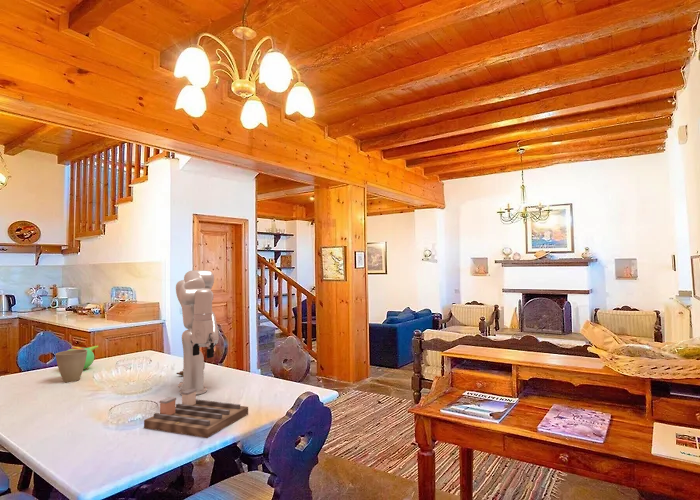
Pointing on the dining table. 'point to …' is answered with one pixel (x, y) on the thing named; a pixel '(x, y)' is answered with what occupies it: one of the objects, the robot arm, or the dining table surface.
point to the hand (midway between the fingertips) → (203, 356)
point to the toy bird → (89, 354)
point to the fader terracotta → (167, 406)
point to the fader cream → (189, 397)
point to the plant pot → (71, 364)
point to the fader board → (197, 418)
